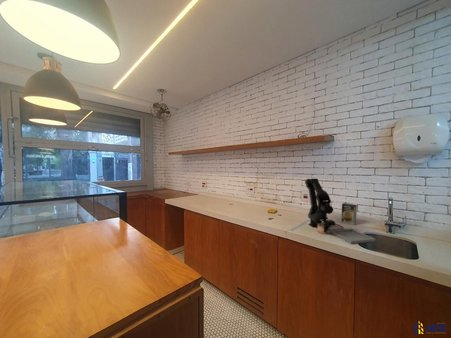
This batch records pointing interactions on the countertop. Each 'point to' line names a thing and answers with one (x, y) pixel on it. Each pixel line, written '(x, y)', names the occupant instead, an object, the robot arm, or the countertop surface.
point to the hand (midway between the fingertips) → (322, 231)
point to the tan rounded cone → (321, 228)
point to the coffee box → (349, 213)
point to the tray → (352, 236)
